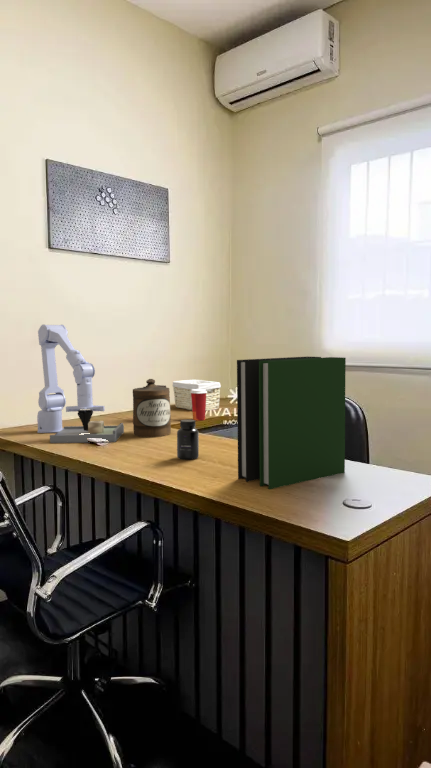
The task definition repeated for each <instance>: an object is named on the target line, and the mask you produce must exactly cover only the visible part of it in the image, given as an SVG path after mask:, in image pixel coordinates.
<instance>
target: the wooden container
mask: <svg viewBox="0 0 431 768" xmlns="http://www.w3.org/2000/svg"><path fill="white" fill-rule="evenodd" d="M155 383H156V380H155V379H154V378H149V379H147V380H146V385H145V386H142V387H137V388H135V387H134V388H132V423H133V435H134V436H136V437H142V438H156V437H157V438H158V437H164V436H168V435H170V434H171V433H172V431H171V430H172V429H171V428H172V425H171V419H172V418H171V417H172V415H171V397H170V388H169V387H167V386H166V387H157V386H156V385H157V384H155Z"/></svg>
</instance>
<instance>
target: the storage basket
mask: <svg viewBox="0 0 431 768" xmlns="http://www.w3.org/2000/svg"><path fill="white" fill-rule="evenodd" d="M221 387H222V385H221V382H218V381H210V380H205V379H195V378H194V379H186V380H184V379H183V380H173V381H172V388H173V395H174V406H175V408H178V409H179V408H180V409H184V410H189V411H192V399H191V393H190V392H191V390H193V389H206V392H207V393H206V411H213V410H218V409H220V397H221V395H220V394H221V393H220V392H221Z"/></svg>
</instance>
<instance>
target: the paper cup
mask: <svg viewBox="0 0 431 768" xmlns="http://www.w3.org/2000/svg"><path fill="white" fill-rule="evenodd" d="M190 393H191V399H192V410H191V412H192V420H195V422H198V421H199V422H200V421H201V422H202V421H205V420H206V411H207V410H206V393H207V392H206V389H193V390H191V392H190Z"/></svg>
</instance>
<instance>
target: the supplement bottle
mask: <svg viewBox="0 0 431 768" xmlns="http://www.w3.org/2000/svg"><path fill="white" fill-rule="evenodd" d="M179 422H180V423H179V427H180V428H178V430H177V432H176V455H177V456H176V457H177V458H178V459H179V460H183V461H191V460H197V459H198V458H199V447H200V446H199V438H200V437H199V435H200V434H199V430H198V429H197V428H196V425H197V424H196V421H195V420H193V419H181V420H180V421H179Z"/></svg>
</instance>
